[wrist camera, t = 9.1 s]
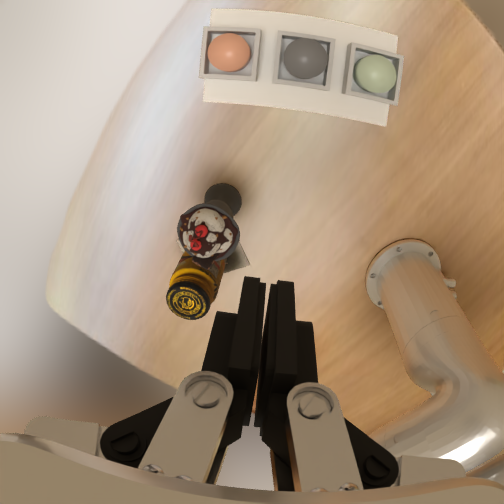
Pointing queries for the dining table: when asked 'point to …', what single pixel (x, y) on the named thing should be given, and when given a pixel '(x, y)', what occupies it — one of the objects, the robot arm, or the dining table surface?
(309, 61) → the charcoal button
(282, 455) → the robot arm
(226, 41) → the terracotta button
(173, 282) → the condiment
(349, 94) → the panel
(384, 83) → the sage button
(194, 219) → the sundae
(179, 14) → the dining table surface
